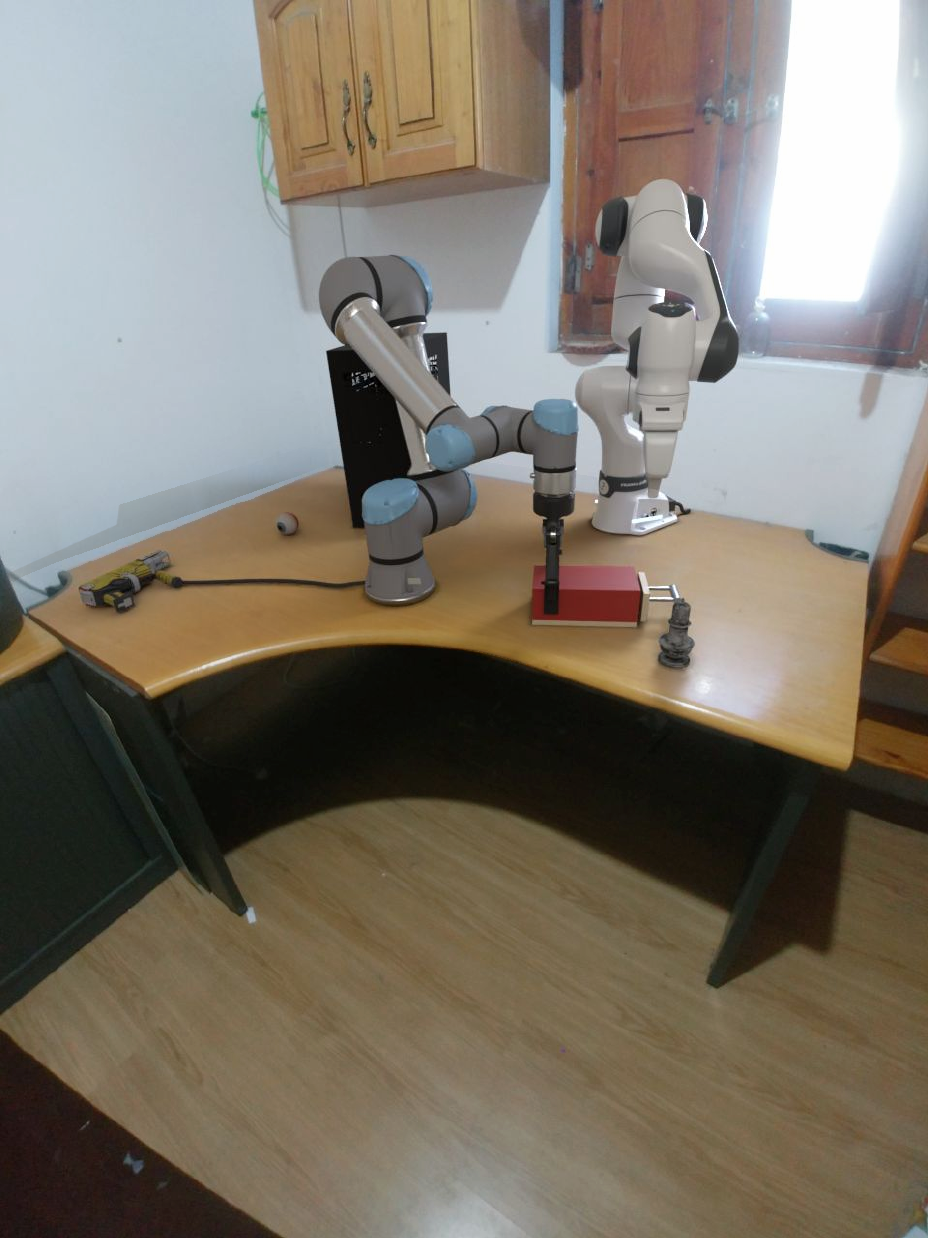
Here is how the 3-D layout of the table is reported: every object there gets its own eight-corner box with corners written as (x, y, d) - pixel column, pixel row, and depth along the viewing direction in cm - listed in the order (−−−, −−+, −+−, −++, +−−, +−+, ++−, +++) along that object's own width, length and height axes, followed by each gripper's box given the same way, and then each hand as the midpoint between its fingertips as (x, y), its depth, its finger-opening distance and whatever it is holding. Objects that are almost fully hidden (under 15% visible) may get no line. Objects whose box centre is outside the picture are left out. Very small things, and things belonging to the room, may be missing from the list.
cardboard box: (422, 529, 163) (406, 348, 140) (352, 527, 167) (325, 350, 145) (456, 486, 194) (446, 332, 172) (396, 484, 199) (379, 334, 176)
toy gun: (206, 558, 145) (156, 547, 149) (127, 600, 125) (71, 586, 129) (209, 576, 148) (160, 565, 152) (132, 620, 128) (77, 606, 132)
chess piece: (694, 669, 101) (704, 607, 95) (657, 667, 102) (665, 605, 96) (690, 650, 106) (699, 590, 100) (655, 648, 107) (662, 588, 101)
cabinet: (630, 600, 123) (634, 566, 119) (636, 627, 114) (640, 590, 110) (533, 599, 126) (534, 565, 122) (532, 624, 117) (532, 588, 113)
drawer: (672, 599, 121) (676, 572, 118) (680, 622, 113) (684, 594, 110) (548, 596, 124) (549, 570, 121) (547, 619, 117) (548, 591, 114)
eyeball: (273, 537, 164) (268, 516, 161) (287, 528, 169) (282, 508, 166) (291, 539, 161) (286, 518, 158) (305, 530, 166) (301, 510, 163)
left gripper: (535, 472, 119) (534, 573, 130) (530, 513, 99) (530, 628, 110) (573, 471, 118) (569, 573, 129) (576, 513, 98) (571, 629, 109)
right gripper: (639, 398, 112) (632, 472, 119) (642, 421, 95) (634, 506, 102) (674, 398, 111) (666, 472, 118) (684, 421, 94) (673, 507, 100)
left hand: (551, 598), depth 119 cm, fingers open, 11 cm apart
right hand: (651, 488), depth 109 cm, fingers open, 8 cm apart
